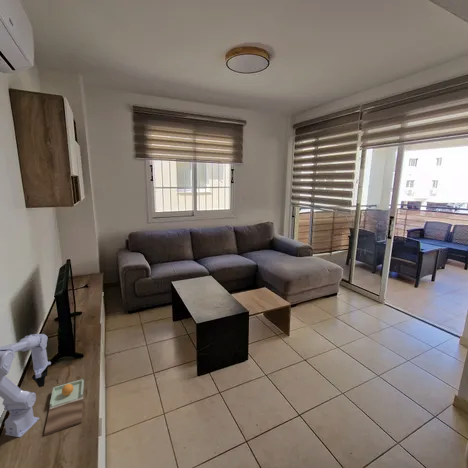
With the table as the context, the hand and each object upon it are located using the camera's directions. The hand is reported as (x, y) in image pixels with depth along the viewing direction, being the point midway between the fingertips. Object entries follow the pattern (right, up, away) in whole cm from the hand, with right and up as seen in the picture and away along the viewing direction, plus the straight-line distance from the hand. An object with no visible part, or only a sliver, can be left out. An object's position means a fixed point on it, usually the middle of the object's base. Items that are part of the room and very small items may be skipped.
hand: (43, 381), depth 131 cm
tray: (+11, -8, +3) cm, 14 cm away
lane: (+14, -11, -4) cm, 18 cm away
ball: (+11, -6, +2) cm, 13 cm away
